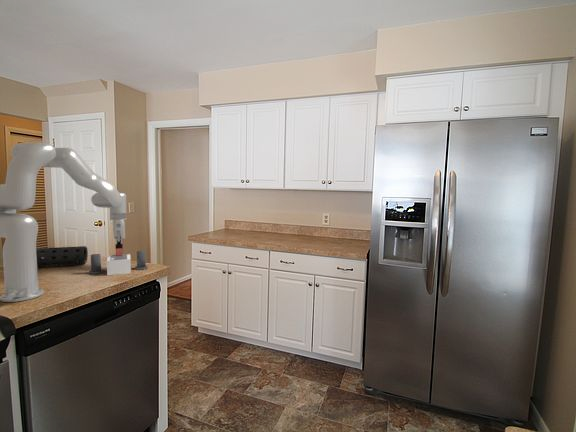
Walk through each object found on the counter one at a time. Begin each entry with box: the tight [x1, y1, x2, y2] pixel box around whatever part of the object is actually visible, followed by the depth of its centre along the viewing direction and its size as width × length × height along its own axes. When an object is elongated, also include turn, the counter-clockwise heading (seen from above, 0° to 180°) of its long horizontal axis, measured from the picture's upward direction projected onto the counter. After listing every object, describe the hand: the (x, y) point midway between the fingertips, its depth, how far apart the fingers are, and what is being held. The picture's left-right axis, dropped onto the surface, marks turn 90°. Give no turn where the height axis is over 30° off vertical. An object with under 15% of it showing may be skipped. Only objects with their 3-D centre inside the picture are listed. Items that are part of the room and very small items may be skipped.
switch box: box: [106, 253, 132, 276], centre depth 153 cm, size 12×10×7 cm
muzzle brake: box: [36, 245, 89, 269], centre depth 159 cm, size 10×28×10 cm, turn 111°
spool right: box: [134, 250, 149, 271], centre depth 158 cm, size 6×6×9 cm
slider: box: [115, 248, 124, 256], centre depth 156 cm, size 2×3×3 cm
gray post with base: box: [88, 253, 104, 275], centre depth 149 cm, size 6×6×9 cm
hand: (119, 251), depth 159 cm, fingers closed
